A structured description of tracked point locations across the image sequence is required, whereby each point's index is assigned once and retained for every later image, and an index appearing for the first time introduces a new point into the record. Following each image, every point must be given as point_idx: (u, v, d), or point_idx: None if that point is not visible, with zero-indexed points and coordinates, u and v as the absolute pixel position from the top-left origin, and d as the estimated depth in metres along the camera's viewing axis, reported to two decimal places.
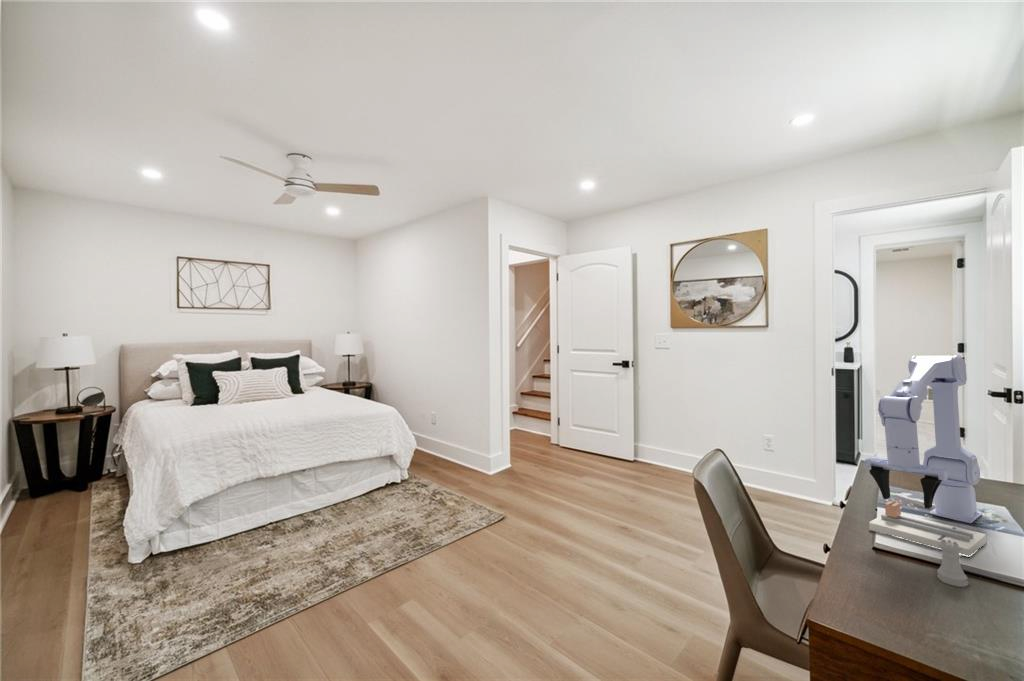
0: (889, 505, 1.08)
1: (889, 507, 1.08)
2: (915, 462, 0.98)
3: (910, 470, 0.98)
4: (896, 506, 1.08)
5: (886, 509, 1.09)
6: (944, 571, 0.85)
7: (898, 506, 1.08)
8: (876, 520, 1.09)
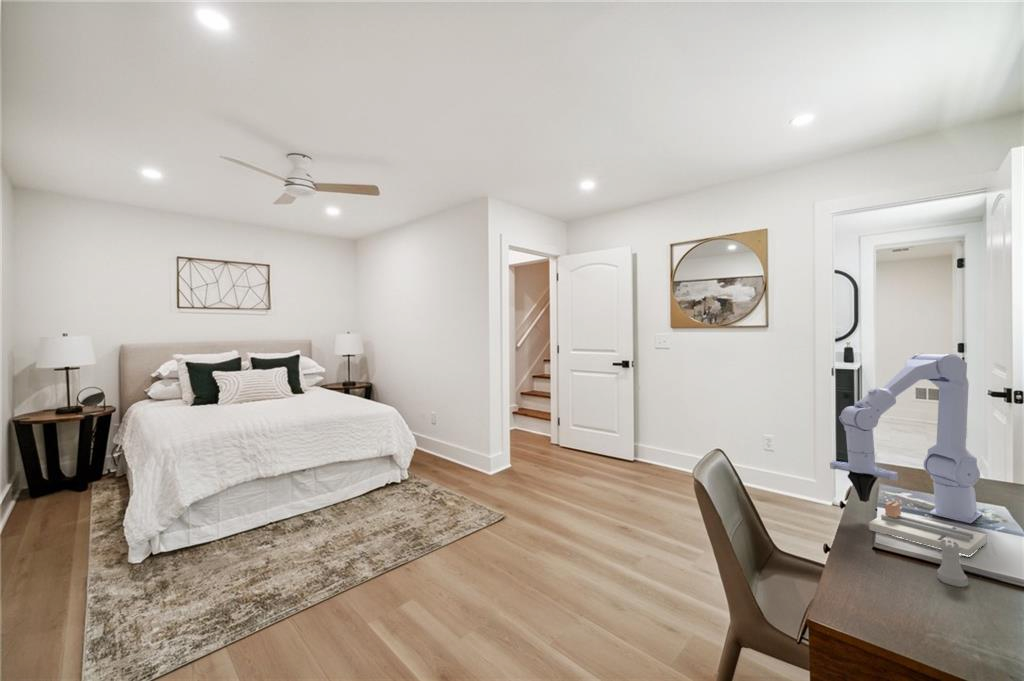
0: (889, 505, 1.08)
1: (889, 507, 1.08)
2: (870, 464, 1.11)
3: (866, 472, 1.11)
4: (896, 506, 1.08)
5: (886, 509, 1.09)
6: (944, 571, 0.85)
7: (898, 506, 1.08)
8: (876, 520, 1.09)
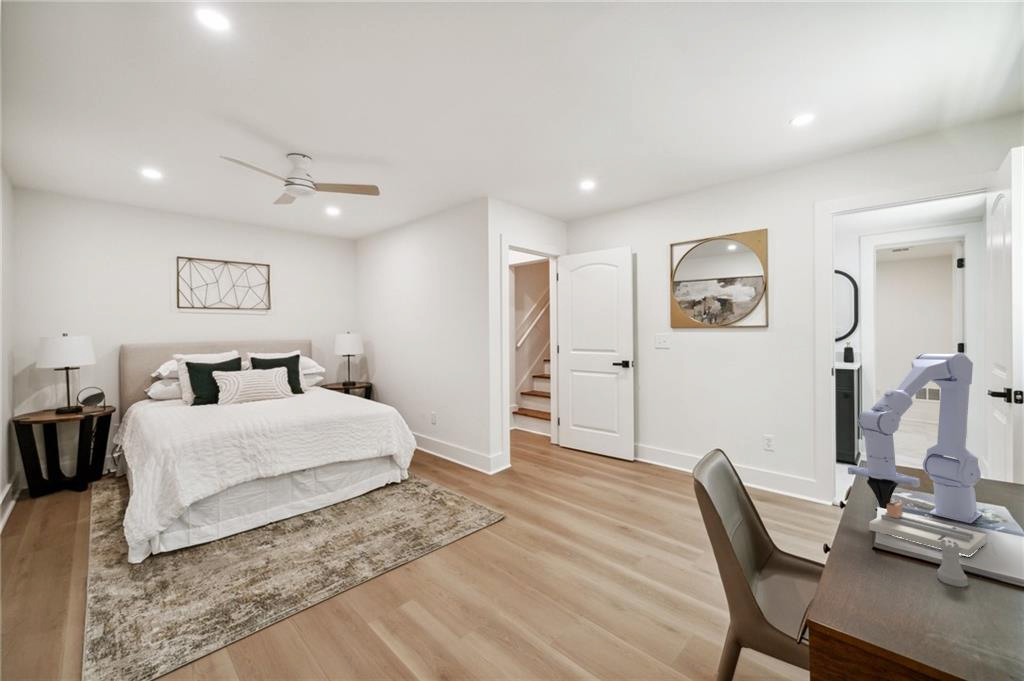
0: (891, 505, 1.08)
1: (891, 507, 1.08)
2: (891, 470, 1.08)
3: (887, 478, 1.08)
4: (897, 506, 1.07)
5: (888, 509, 1.09)
6: (944, 571, 0.85)
7: (900, 506, 1.08)
8: (876, 520, 1.09)
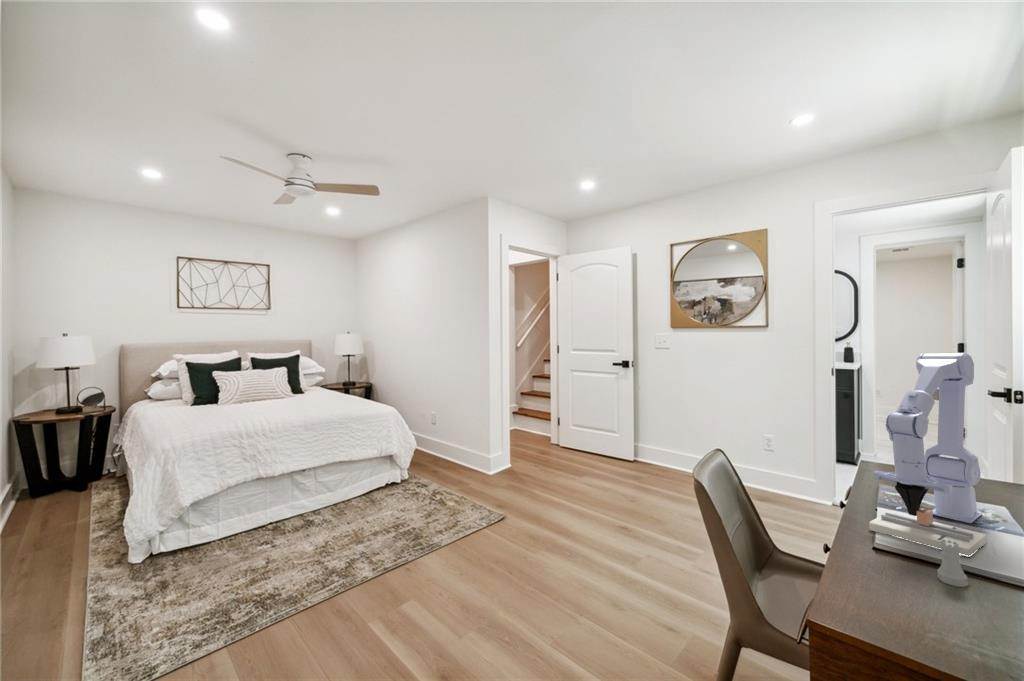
0: (921, 513, 1.03)
1: (921, 515, 1.03)
2: (921, 476, 1.03)
3: (917, 484, 1.02)
4: (928, 514, 1.02)
5: (918, 517, 1.03)
6: (944, 571, 0.85)
7: (930, 514, 1.03)
8: (876, 520, 1.09)
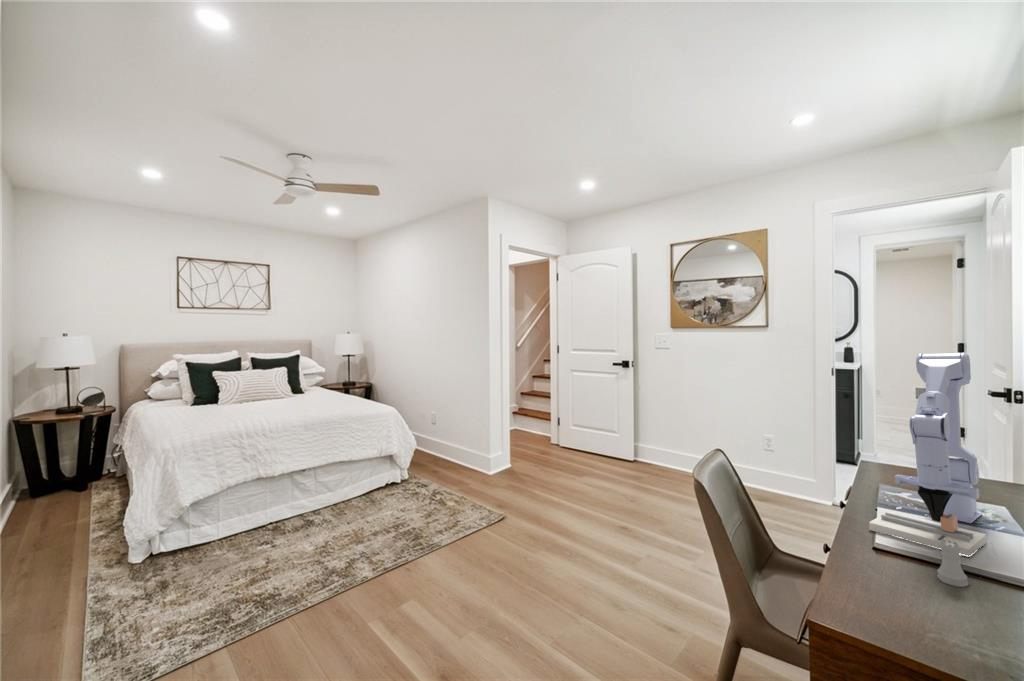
0: (945, 518, 0.99)
1: (945, 521, 0.99)
2: (946, 480, 0.99)
3: (941, 488, 0.99)
4: (953, 519, 0.98)
5: (942, 523, 1.00)
6: (944, 571, 0.85)
7: (955, 519, 0.99)
8: (876, 520, 1.09)
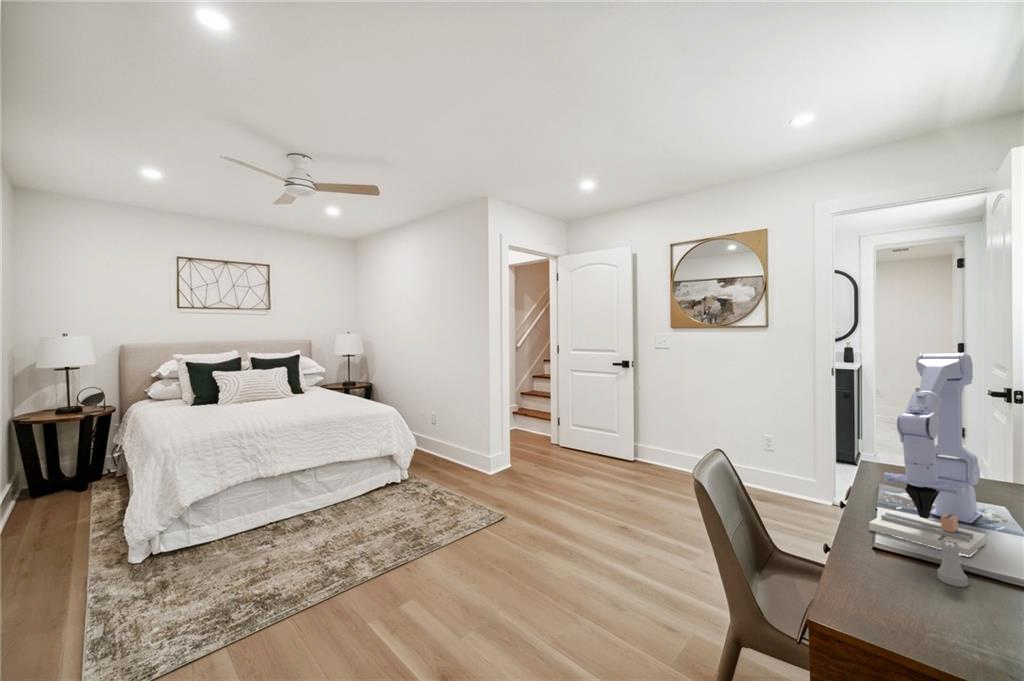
0: (946, 518, 0.99)
1: (946, 521, 0.99)
2: (933, 478, 1.01)
3: (928, 486, 1.01)
4: (953, 519, 0.98)
5: (942, 523, 1.00)
6: (944, 571, 0.85)
7: (955, 519, 0.99)
8: (876, 520, 1.09)
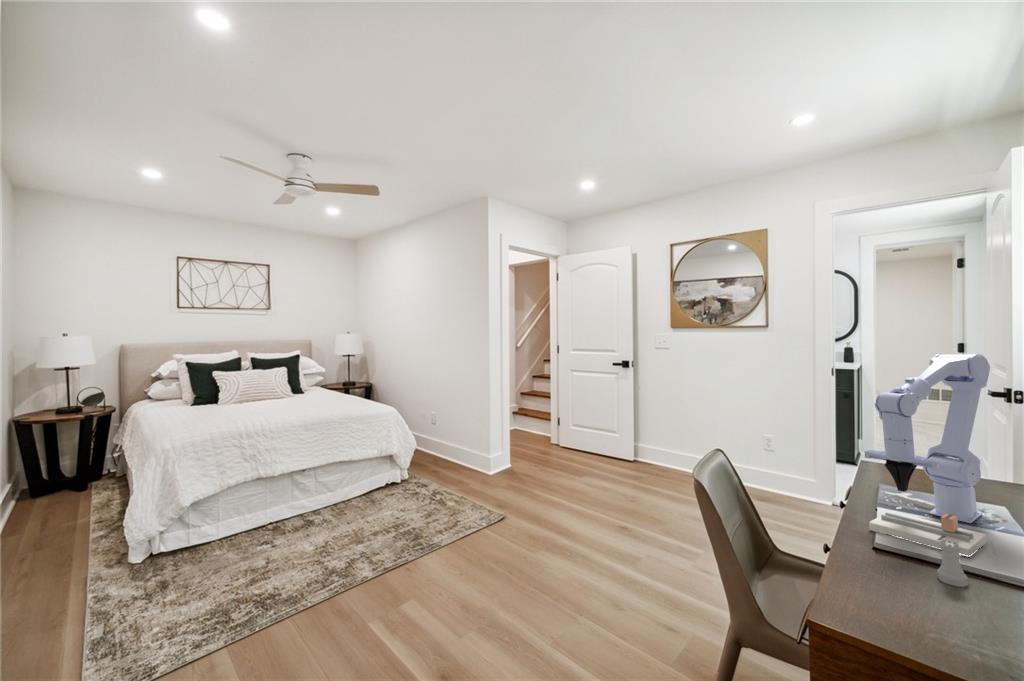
0: (946, 518, 0.99)
1: (946, 521, 0.99)
2: (910, 452, 1.07)
3: (906, 460, 1.07)
4: (953, 519, 0.98)
5: (942, 523, 1.00)
6: (944, 571, 0.85)
7: (955, 519, 0.99)
8: (876, 520, 1.09)
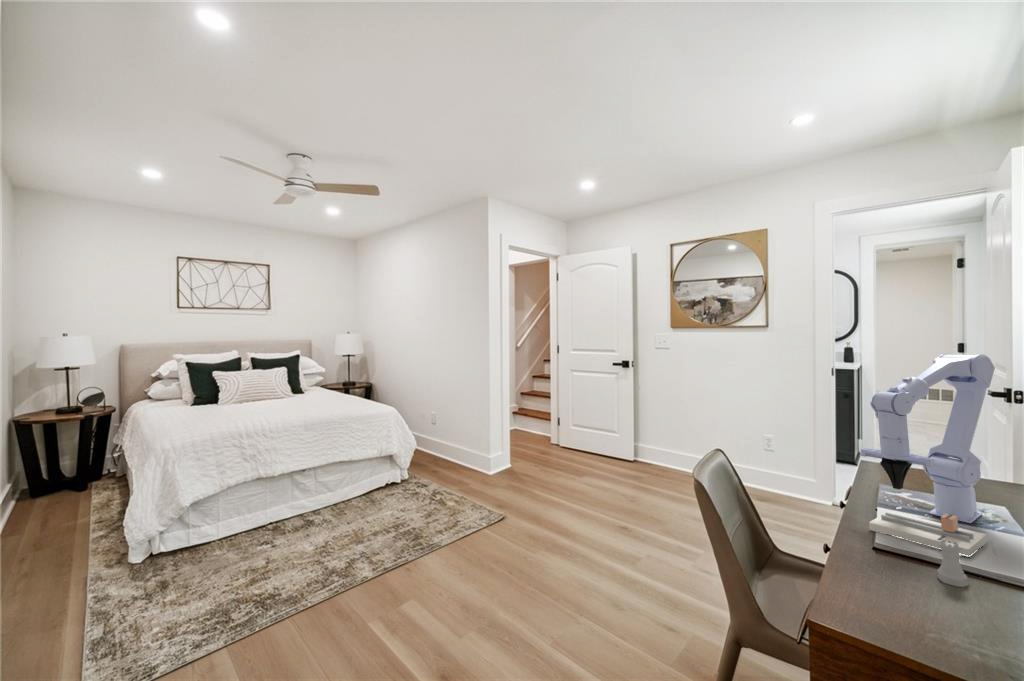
0: (946, 518, 0.99)
1: (946, 521, 0.99)
2: (905, 451, 1.08)
3: (901, 458, 1.08)
4: (953, 519, 0.98)
5: (942, 523, 1.00)
6: (944, 571, 0.85)
7: (955, 519, 0.99)
8: (876, 520, 1.09)
